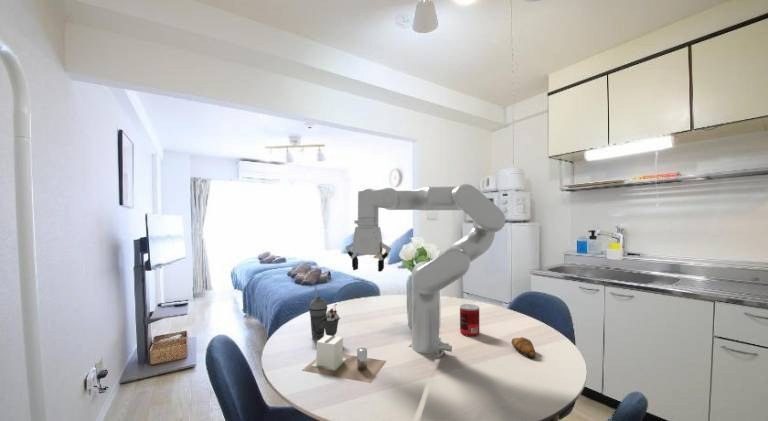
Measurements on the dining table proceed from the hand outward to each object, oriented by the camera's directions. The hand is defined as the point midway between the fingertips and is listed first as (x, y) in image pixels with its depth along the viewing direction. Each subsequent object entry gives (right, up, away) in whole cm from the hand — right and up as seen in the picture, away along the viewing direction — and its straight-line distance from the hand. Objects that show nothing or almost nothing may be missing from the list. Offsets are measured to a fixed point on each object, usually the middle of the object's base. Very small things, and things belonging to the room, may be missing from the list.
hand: (367, 270), depth 110 cm
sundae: (-14, -29, +2) cm, 32 cm away
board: (-6, -28, -16) cm, 33 cm away
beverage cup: (-20, -29, +11) cm, 37 cm away
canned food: (+41, -29, +16) cm, 53 cm away
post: (-1, -26, -18) cm, 32 cm away
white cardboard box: (-11, -26, -14) cm, 32 cm away
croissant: (+55, -29, -2) cm, 62 cm away
